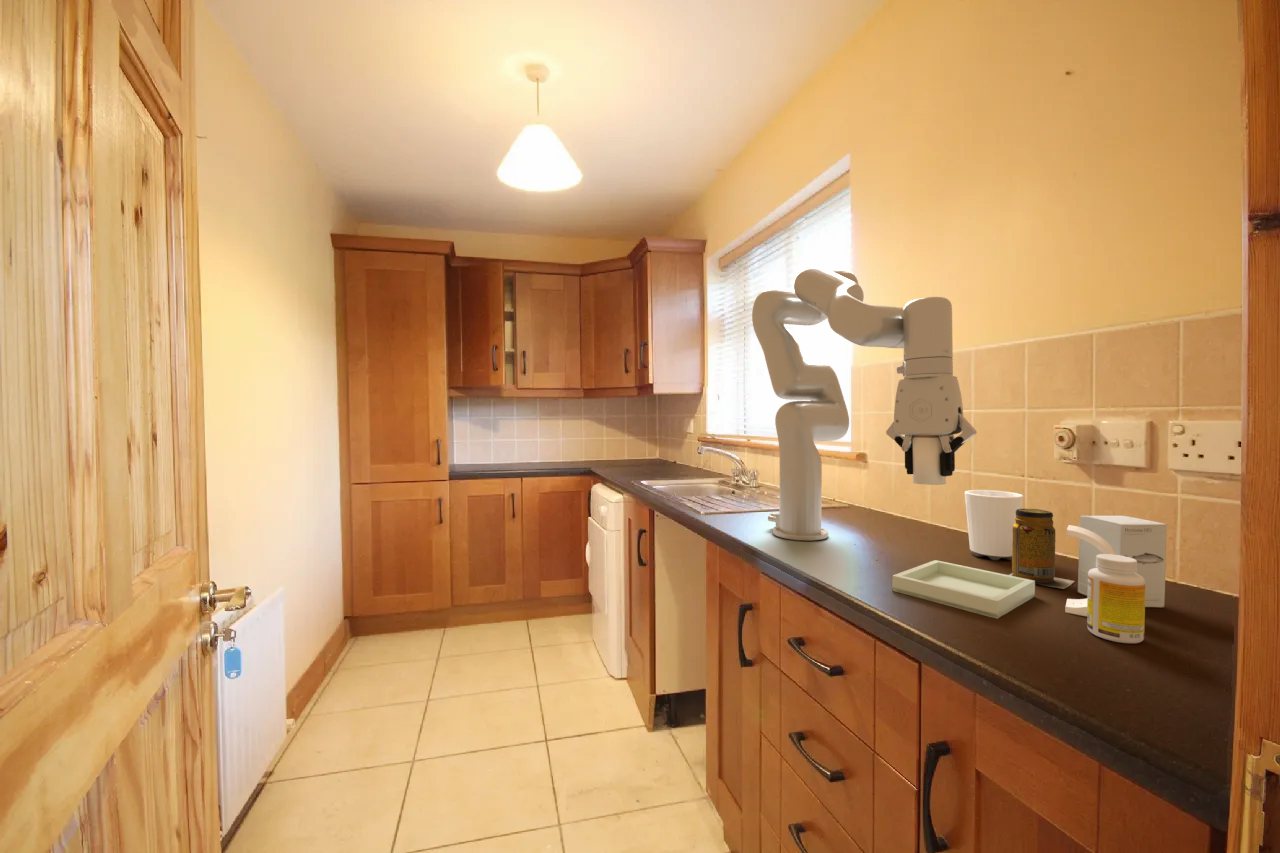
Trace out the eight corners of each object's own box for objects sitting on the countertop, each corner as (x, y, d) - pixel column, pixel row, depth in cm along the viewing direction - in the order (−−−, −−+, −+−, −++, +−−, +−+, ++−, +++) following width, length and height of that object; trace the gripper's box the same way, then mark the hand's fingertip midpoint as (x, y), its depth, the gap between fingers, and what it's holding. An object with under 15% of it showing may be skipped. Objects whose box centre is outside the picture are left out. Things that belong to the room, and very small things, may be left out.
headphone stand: (1067, 603, 81) (1068, 524, 81) (1120, 613, 77) (1122, 530, 77) (1065, 612, 78) (1066, 529, 77) (1120, 623, 74) (1122, 536, 73)
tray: (892, 590, 87) (892, 575, 87) (935, 573, 96) (935, 560, 96) (997, 618, 75) (997, 601, 75) (1034, 596, 84) (1034, 580, 84)
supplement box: (1118, 609, 79) (1120, 523, 79) (1076, 592, 86) (1077, 514, 86) (1167, 608, 79) (1169, 523, 79) (1120, 591, 87) (1122, 514, 86)
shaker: (907, 483, 94) (907, 430, 94) (921, 481, 97) (920, 430, 97) (937, 485, 90) (937, 430, 90) (950, 483, 93) (950, 430, 93)
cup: (953, 550, 113) (953, 490, 112) (997, 549, 113) (998, 489, 113) (986, 563, 103) (987, 497, 103) (1035, 562, 103) (1036, 496, 103)
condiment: (1016, 571, 98) (1017, 505, 98) (1075, 582, 92) (1076, 512, 91) (1003, 578, 94) (1004, 510, 93) (1063, 591, 87) (1064, 517, 87)
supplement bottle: (1156, 645, 67) (1158, 563, 66) (1111, 645, 67) (1113, 563, 66) (1117, 627, 72) (1119, 552, 72) (1075, 627, 72) (1077, 552, 72)
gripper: (870, 373, 98) (871, 473, 98) (973, 364, 84) (974, 479, 84) (890, 375, 103) (892, 470, 102) (991, 367, 89) (993, 476, 89)
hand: (929, 473), depth 93 cm, fingers closed on shaker, 5 cm apart
